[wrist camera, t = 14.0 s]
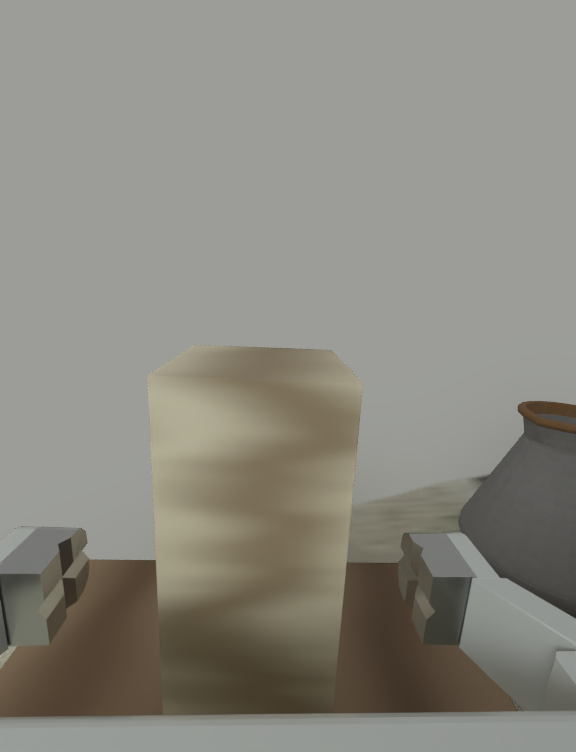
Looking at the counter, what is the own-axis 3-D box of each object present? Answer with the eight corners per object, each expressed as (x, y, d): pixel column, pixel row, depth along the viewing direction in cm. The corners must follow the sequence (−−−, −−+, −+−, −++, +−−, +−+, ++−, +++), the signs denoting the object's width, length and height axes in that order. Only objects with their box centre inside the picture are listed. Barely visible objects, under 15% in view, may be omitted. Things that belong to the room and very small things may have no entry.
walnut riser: (-248, 1242, 8) (-329, 1121, 6) (88, 632, 21) (80, 559, 20) (656, 1182, 8) (723, 1066, 7) (421, 633, 22) (432, 563, 21)
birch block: (165, 783, 11) (147, 375, 8) (199, 634, 16) (194, 344, 13) (326, 781, 11) (363, 382, 8) (311, 635, 16) (331, 350, 13)
